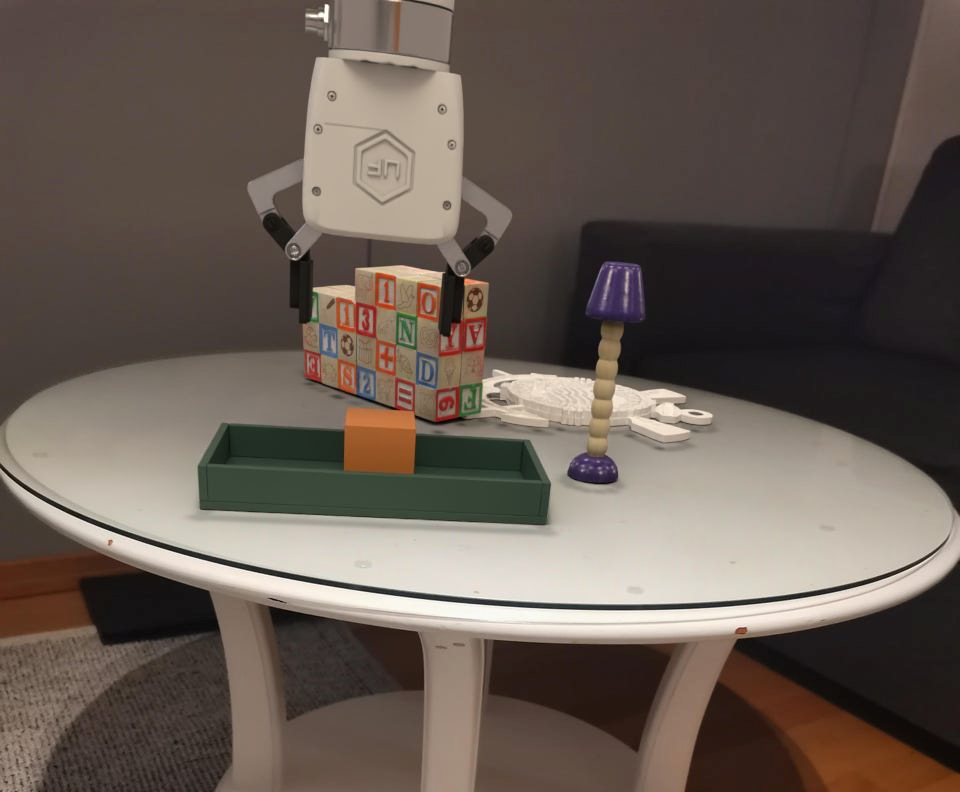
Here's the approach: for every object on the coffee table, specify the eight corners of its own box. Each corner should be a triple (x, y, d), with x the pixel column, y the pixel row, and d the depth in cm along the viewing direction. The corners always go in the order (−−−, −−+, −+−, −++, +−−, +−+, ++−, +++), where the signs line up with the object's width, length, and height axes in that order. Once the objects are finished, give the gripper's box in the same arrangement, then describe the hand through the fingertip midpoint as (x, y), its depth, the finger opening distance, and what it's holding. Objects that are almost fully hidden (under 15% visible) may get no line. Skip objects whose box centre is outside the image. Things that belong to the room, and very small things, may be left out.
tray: (199, 509, 67) (197, 465, 65) (223, 461, 77) (221, 422, 75) (546, 524, 70) (551, 483, 68) (526, 476, 79) (530, 439, 78)
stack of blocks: (302, 378, 104) (298, 256, 99) (349, 372, 108) (347, 254, 103) (436, 422, 91) (440, 283, 85) (483, 413, 95) (490, 279, 89)
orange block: (412, 496, 71) (416, 428, 69) (343, 493, 70) (344, 424, 68) (410, 475, 75) (414, 411, 73) (345, 471, 75) (347, 407, 73)
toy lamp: (557, 466, 83) (582, 257, 75) (606, 465, 84) (636, 260, 77) (579, 484, 79) (608, 265, 71) (631, 483, 80) (664, 268, 73)
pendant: (465, 372, 114) (466, 360, 113) (706, 400, 111) (709, 387, 110) (427, 414, 95) (428, 400, 94) (717, 449, 92) (720, 434, 91)
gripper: (239, 16, 56) (241, 325, 63) (536, 54, 58) (503, 349, 66) (254, 28, 62) (255, 307, 70) (520, 62, 64) (492, 329, 72)
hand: (375, 327), depth 68 cm, fingers open, 9 cm apart
